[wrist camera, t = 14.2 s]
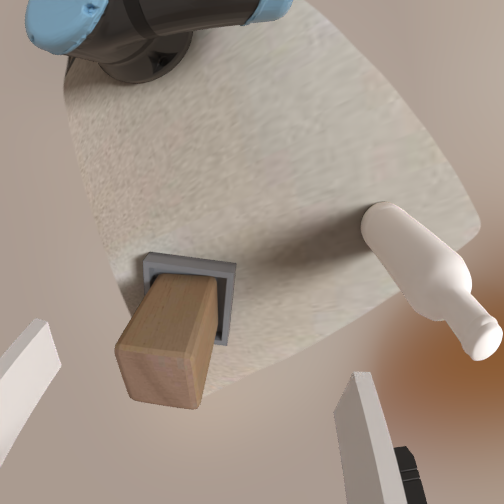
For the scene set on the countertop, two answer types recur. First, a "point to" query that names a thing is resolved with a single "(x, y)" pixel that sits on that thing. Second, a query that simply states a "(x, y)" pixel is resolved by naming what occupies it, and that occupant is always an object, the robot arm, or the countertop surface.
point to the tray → (197, 266)
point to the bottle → (430, 276)
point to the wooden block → (170, 341)
